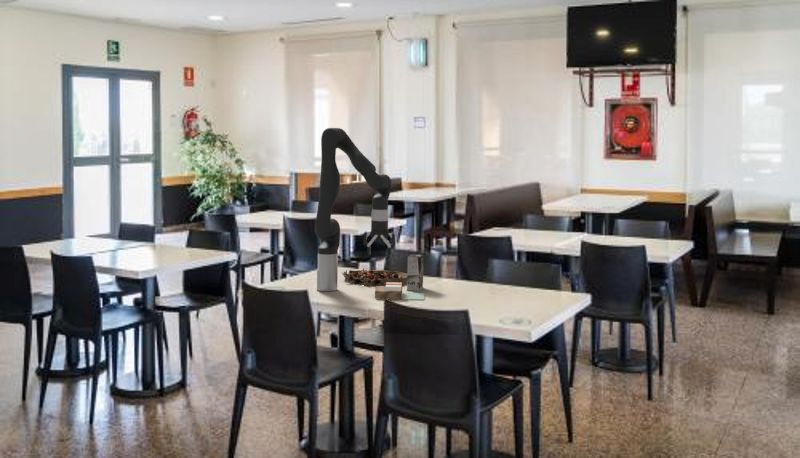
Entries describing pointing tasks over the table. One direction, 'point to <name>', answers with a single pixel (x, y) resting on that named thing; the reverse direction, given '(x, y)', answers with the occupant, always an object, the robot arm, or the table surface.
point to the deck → (387, 293)
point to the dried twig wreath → (374, 277)
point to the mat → (413, 296)
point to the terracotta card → (393, 283)
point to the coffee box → (415, 272)
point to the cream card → (393, 287)
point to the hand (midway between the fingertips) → (379, 255)
